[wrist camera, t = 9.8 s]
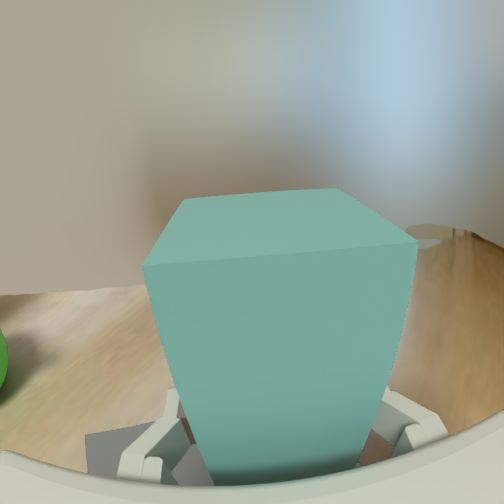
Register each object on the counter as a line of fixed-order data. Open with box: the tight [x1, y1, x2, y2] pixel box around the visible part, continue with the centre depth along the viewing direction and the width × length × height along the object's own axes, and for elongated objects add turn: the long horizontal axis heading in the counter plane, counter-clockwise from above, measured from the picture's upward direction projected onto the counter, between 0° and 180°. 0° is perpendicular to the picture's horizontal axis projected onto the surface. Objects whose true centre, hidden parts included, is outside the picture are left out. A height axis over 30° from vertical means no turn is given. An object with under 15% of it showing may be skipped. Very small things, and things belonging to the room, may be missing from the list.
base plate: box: [85, 421, 362, 486], centre depth 19 cm, size 24×22×3 cm
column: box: [142, 188, 419, 486], centre depth 10 cm, size 5×5×16 cm
